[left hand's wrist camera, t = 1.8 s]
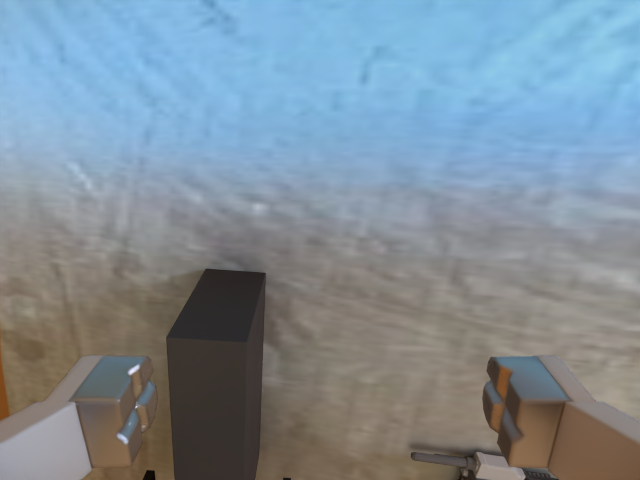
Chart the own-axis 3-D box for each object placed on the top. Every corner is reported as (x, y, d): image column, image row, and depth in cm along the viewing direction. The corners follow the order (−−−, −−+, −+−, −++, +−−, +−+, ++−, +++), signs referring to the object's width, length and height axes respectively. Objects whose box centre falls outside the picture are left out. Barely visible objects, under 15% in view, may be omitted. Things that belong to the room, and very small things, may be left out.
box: (205, 268, 44) (166, 337, 33) (265, 272, 44) (247, 342, 33) (209, 450, 53) (178, 554, 42) (259, 453, 53) (242, 557, 42)
